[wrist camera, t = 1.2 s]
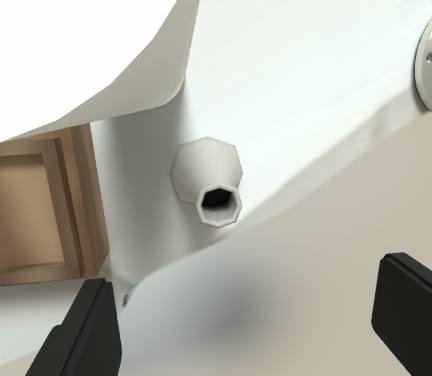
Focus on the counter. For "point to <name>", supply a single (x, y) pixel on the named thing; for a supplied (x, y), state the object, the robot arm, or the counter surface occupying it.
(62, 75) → the cylindrical container
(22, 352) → the counter surface
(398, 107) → the counter surface
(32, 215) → the tray
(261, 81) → the counter surface
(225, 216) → the flask
